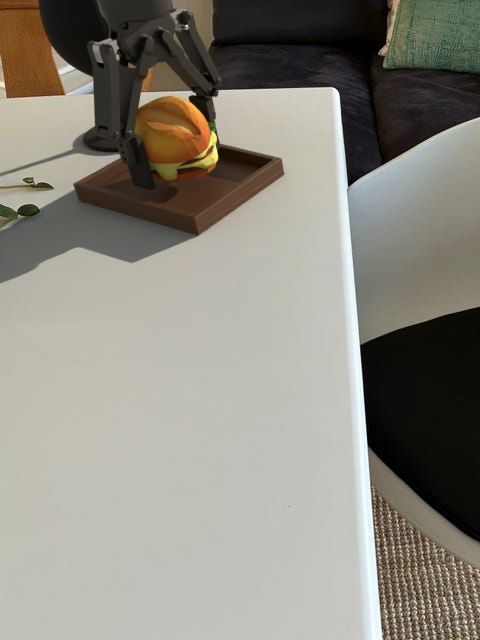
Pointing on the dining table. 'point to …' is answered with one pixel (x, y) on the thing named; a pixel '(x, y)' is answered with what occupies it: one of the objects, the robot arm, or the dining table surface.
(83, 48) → the wine glass
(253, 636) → the dining table surface
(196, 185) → the tray
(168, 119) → the cheeseburger
